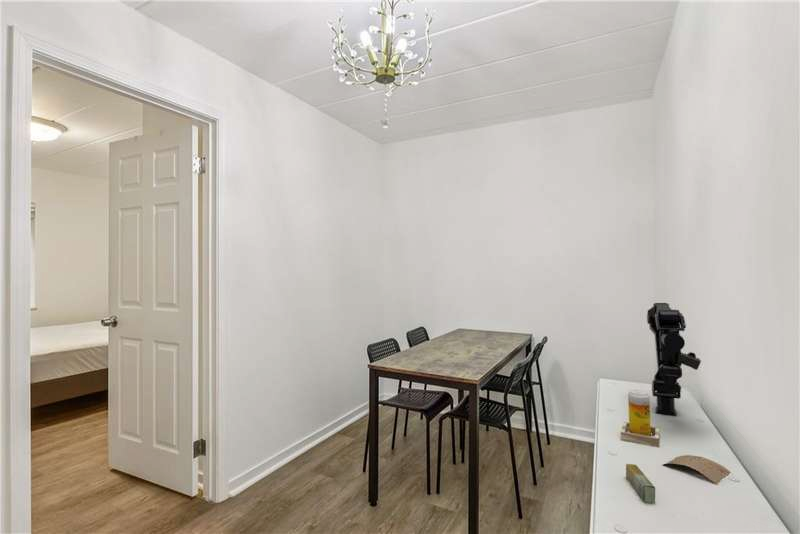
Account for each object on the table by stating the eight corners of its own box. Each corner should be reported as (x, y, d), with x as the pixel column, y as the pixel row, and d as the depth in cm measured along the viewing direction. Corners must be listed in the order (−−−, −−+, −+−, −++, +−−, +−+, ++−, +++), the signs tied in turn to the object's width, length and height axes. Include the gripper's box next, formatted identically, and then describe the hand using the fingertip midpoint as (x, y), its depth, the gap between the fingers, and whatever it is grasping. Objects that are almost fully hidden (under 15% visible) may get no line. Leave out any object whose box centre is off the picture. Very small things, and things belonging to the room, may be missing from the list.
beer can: (644, 442, 126) (642, 396, 126) (625, 436, 132) (623, 391, 132) (655, 438, 129) (653, 392, 129) (636, 432, 135) (634, 388, 135)
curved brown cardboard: (659, 466, 112) (659, 457, 112) (675, 456, 118) (675, 447, 118) (722, 489, 100) (721, 478, 100) (736, 477, 106) (736, 466, 106)
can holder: (623, 429, 137) (623, 421, 138) (659, 435, 132) (659, 427, 132) (621, 440, 129) (620, 432, 129) (659, 447, 123) (658, 439, 123)
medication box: (656, 504, 94) (656, 487, 94) (644, 503, 95) (643, 486, 95) (636, 478, 106) (636, 463, 106) (625, 477, 106) (625, 462, 106)
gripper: (700, 352, 126) (702, 401, 126) (696, 342, 141) (698, 386, 141) (658, 349, 132) (660, 396, 132) (659, 340, 147) (661, 382, 147)
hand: (671, 390), depth 138 cm, fingers open, 9 cm apart
